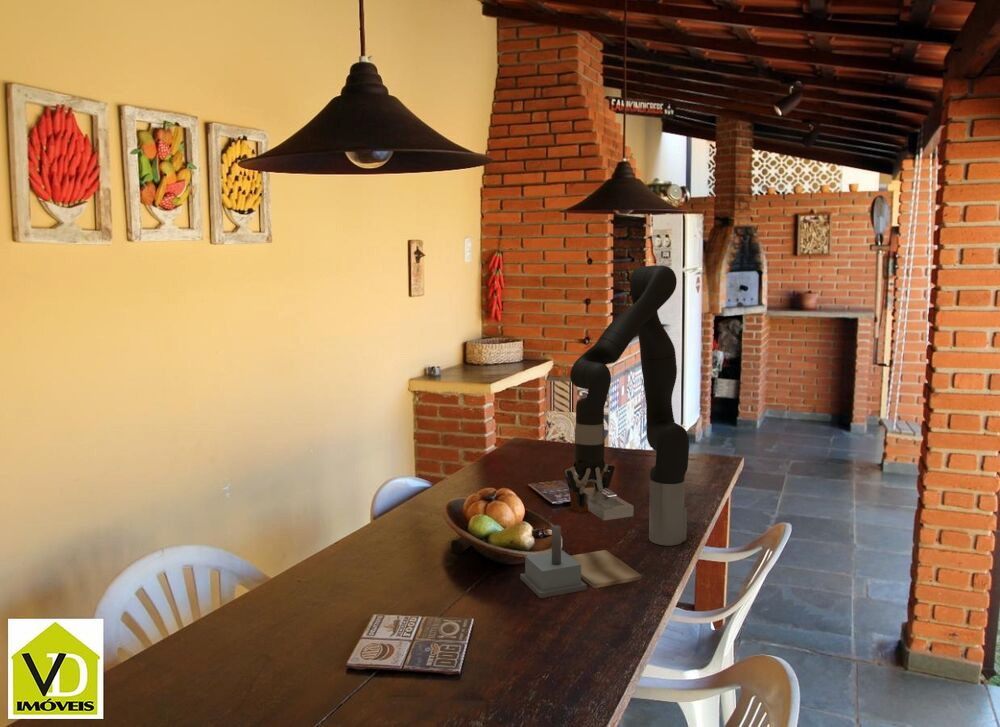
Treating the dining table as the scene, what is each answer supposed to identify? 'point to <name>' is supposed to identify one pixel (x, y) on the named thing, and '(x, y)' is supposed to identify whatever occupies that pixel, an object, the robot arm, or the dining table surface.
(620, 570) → the folded beige cloth
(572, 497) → the disposable coffee cup
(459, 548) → the hand tool
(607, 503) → the beige stepped block
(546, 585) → the block with upright post
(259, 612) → the dining table surface
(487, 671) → the dining table surface
